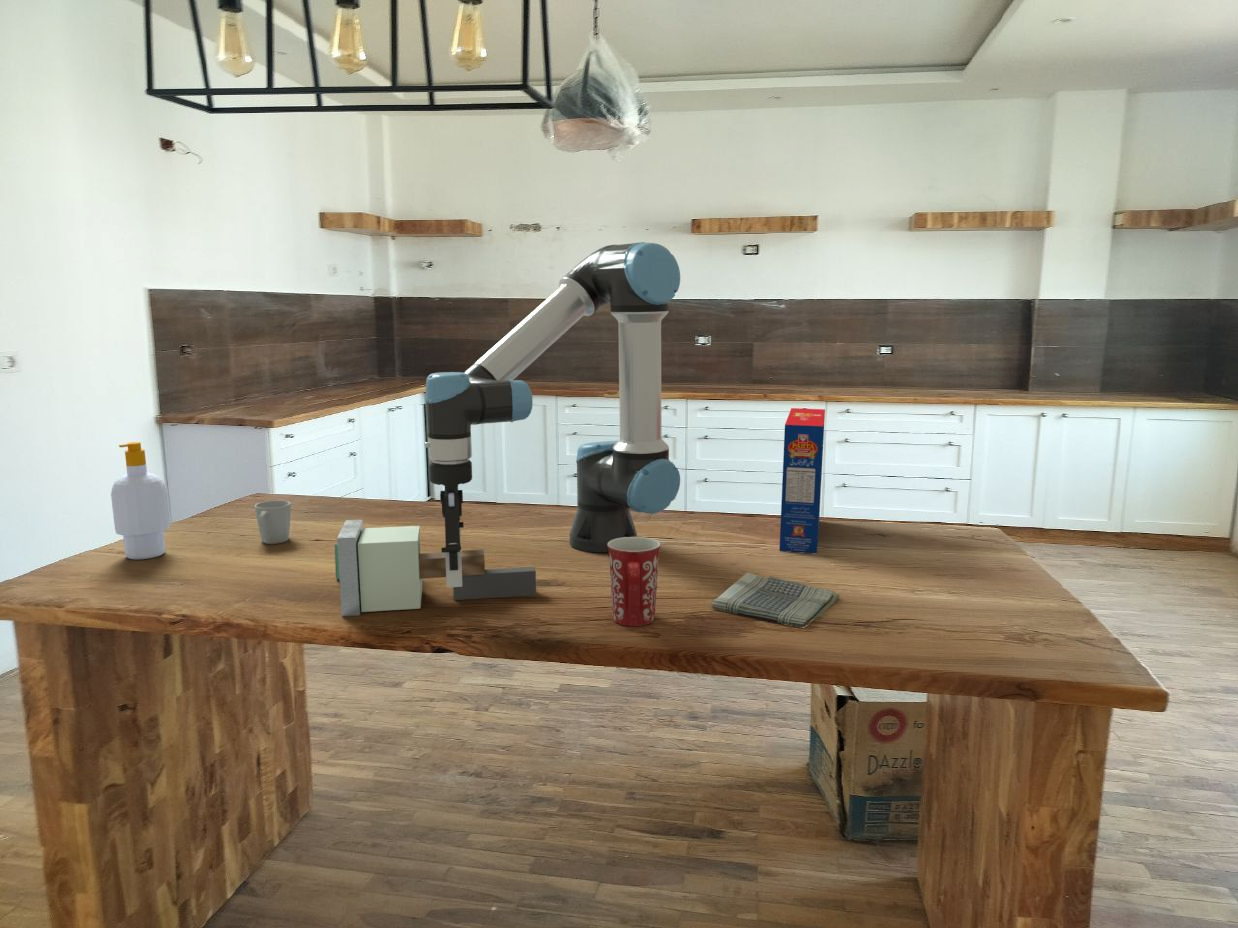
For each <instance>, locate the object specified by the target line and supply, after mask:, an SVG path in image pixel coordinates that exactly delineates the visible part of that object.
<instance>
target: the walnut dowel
mask: <svg viewBox="0 0 1238 928" xmlns="http://www.w3.org/2000/svg"><path fill="white" fill-rule="evenodd" d="M461 562H462V576H467V575H481V574H485V570H486V566H485V550H484V548H483V549H473V550H472V549H471V550H470V549H469V550H461ZM419 574H420V579H422V580H423V579H435V578H436V579H437V578H446V559H445V552H444V553H442V551H440V552H427V553H426V552H425V553H424V552H423V553H421V554H419Z"/></svg>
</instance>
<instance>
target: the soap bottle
mask: <svg viewBox="0 0 1238 928" xmlns="http://www.w3.org/2000/svg"><path fill="white" fill-rule="evenodd" d="M118 447H119V448H127V450H125V451H124V456H125V464H126V465H125V466H126V467H125V468H126V474H124V475H122V476H120V477H119V478H117V479H116V480H115V481H114V482H113V484H112V487H111V493H110V497H111V507H112V514H113V525H114V530H115V533H116V535H119V536H123V537H122V538H123V546H124V556H125V557H126V558H127V559H130V560H147V559H153V558H154V559H155V558H157V557H160V556H163V554H165V553H166V539H165V531H167V530H169V528H170V527H171V518H170V510H169V509H170V508H169V499H168V492H167V487H166V485H165V482H164V481H163V480H162V479H161V477H160V476H159V475H157V474H154V473H152V472H148V470H147V468H148V467H147V461H146V451H145V449H143V448H142V444H141V442H140V441H134V442H133V441H132V442H127V443H124V444H119V445H118Z"/></svg>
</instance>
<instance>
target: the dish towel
mask: <svg viewBox="0 0 1238 928" xmlns="http://www.w3.org/2000/svg"><path fill="white" fill-rule="evenodd" d="M839 598H840V594H839V593H837V592H836V591H834V590H831V589H828V588H826V589H825V588H821V587H815V586H810V585H807V584H804V583H800V582H797V581H796V582H794V581H790V580H785V579H781V578H778V577H775V576H773V575H772V576H771V575H770V576H768V577H767V578H765V577H763V576H761V575H760V576H759V575H757V574H753V573H751V572H746V573H745V574H743V575H742V576H741V577H740V578H739V579H738V580H737V581H736V582H734V583H733V584H732V585H731V586H729V587H728V588H727V589H726V590H725V591H724V592H723V593H722V594H721V595H719V596H718V597H717V598H715V599H713V601H712V603H711V608H712V609H713V610H716V611H720V612H724V613H729V614H733V615H736V616H742V617H747V618H751V619H752V618H753V619H756V620H757V619H758V620H761V619H762V621H765V620H767V621H766V622H769V621H772V622H771V623H774V622H777V623H776V624H778V623H781V624H780V625H783V624H787V625H792V626H791V627H793V626H797V627H796V628H798V627H805V626H806V625H808V624H809V623H810V621H811V620H813V619H815V620H817V619H818V618H819V617H821V616H822V615H824V613H826V612H827V611H828V610H829V609H830V608H831V607H832V606H834V605H835V603H836V602H837V601H838V600H839ZM828 608H829V609H828ZM827 609H828V610H827ZM821 614H822V615H821ZM820 615H821V616H820ZM816 618H817V619H816ZM787 625H786V626H787ZM809 625H810V624H809ZM809 625H808V626H809Z"/></svg>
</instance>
